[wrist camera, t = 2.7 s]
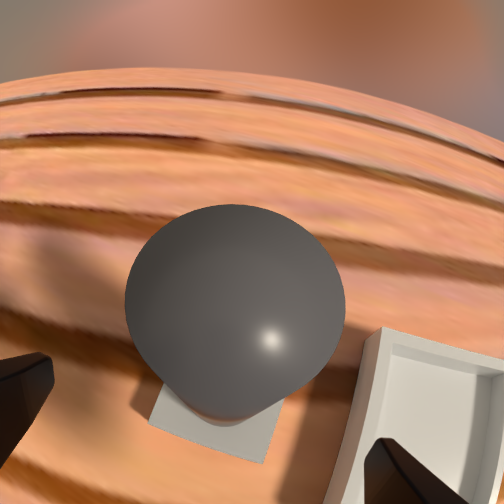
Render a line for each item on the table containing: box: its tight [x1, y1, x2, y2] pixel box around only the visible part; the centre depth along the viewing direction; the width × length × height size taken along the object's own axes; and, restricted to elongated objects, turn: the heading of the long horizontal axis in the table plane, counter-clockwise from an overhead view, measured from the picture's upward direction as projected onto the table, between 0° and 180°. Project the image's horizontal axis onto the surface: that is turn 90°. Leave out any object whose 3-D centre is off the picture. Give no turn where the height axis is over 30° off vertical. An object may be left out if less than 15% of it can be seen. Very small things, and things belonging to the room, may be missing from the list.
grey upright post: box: [125, 204, 345, 464], centre depth 11 cm, size 6×6×14 cm
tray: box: [323, 326, 504, 504], centre depth 14 cm, size 12×12×2 cm
